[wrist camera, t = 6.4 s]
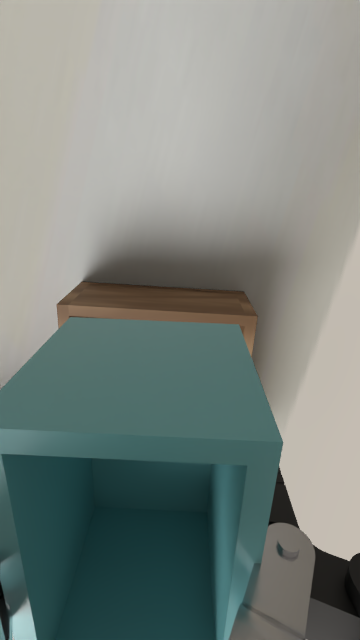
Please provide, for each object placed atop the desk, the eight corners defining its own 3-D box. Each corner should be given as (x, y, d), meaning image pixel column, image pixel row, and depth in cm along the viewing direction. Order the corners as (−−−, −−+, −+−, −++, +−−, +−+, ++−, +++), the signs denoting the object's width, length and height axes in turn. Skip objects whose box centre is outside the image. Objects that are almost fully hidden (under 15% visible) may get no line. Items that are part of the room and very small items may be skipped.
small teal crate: (70, 316, 12) (-36, 426, 6) (239, 324, 12) (282, 442, 6) (85, 504, 15) (24, 687, 10) (219, 511, 15) (236, 699, 9)
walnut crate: (81, 281, 29) (56, 304, 23) (243, 291, 29) (257, 316, 23) (89, 431, 35) (70, 478, 29) (224, 439, 35) (231, 487, 29)
